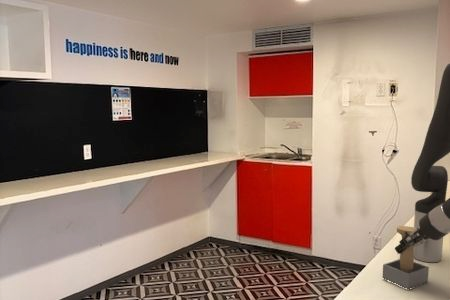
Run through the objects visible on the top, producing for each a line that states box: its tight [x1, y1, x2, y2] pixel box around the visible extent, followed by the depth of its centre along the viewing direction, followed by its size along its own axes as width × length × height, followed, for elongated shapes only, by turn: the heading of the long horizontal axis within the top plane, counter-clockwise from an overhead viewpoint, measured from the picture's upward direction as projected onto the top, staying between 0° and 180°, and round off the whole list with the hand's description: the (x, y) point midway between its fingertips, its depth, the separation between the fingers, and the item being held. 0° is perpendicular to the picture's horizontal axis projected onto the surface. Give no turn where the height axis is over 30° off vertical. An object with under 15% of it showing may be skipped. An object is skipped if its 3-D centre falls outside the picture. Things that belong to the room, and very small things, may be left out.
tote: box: [382, 258, 430, 289], centre depth 132 cm, size 10×9×5 cm
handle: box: [396, 225, 417, 274], centre depth 131 cm, size 5×6×15 cm
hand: (401, 249), depth 132 cm, fingers closed on handle, 3 cm apart
